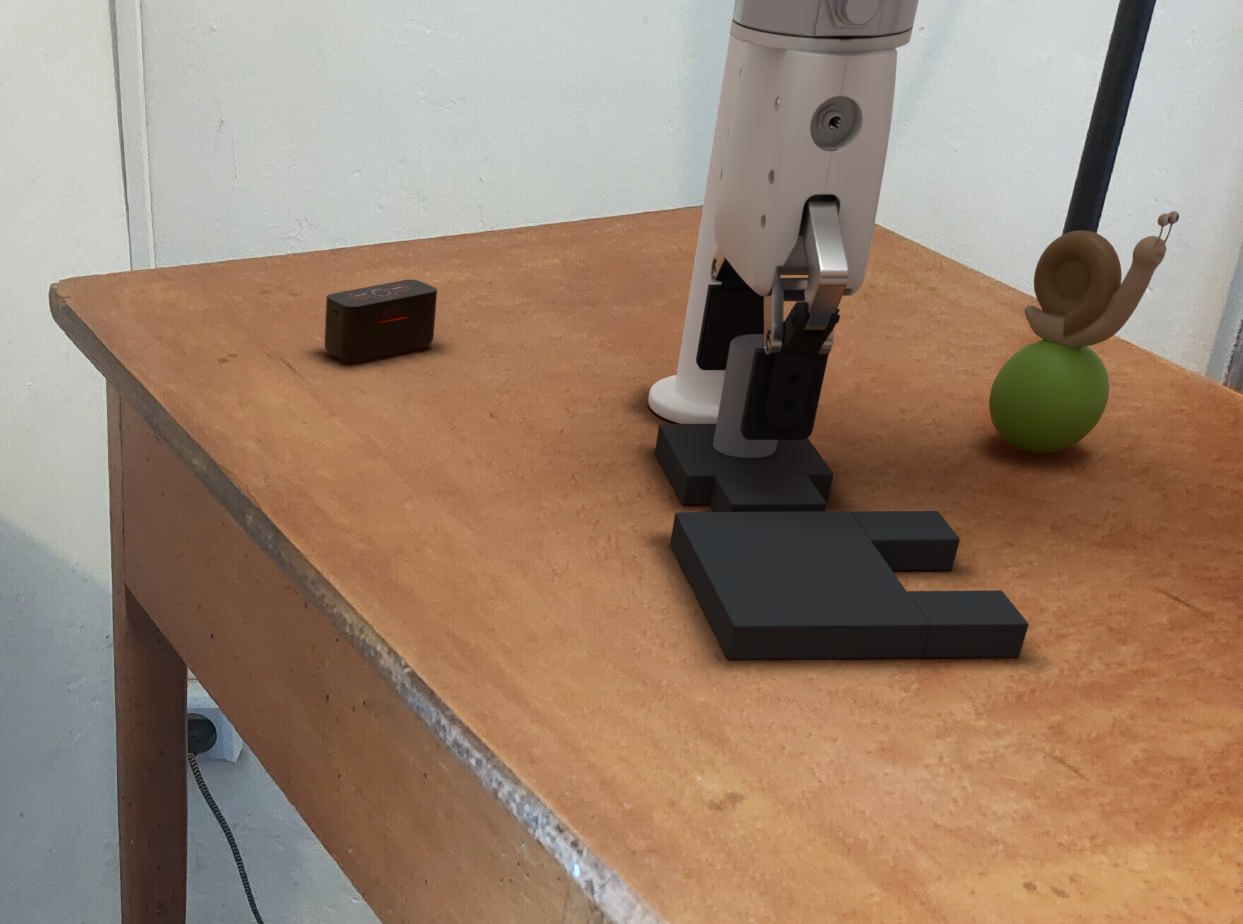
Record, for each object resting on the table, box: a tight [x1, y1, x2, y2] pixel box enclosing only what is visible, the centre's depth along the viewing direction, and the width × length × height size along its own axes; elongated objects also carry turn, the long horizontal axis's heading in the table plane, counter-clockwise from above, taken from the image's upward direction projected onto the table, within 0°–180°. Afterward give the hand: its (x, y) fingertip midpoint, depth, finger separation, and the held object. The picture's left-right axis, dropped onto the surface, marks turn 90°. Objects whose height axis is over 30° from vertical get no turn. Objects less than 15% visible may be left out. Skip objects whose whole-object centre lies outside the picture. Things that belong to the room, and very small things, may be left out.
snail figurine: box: [988, 210, 1180, 454], centre depth 92 cm, size 5×6×12 cm
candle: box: [647, 33, 784, 424], centre depth 93 cm, size 7×7×25 cm
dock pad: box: [669, 510, 1029, 660], centre depth 82 cm, size 12×12×2 cm
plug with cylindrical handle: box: [654, 334, 835, 512], centre depth 90 cm, size 11×7×6 cm, turn 179°
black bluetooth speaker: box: [323, 279, 438, 364], centre depth 109 cm, size 5×7×3 cm, turn 119°
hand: (750, 401), depth 91 cm, fingers open, 9 cm apart
